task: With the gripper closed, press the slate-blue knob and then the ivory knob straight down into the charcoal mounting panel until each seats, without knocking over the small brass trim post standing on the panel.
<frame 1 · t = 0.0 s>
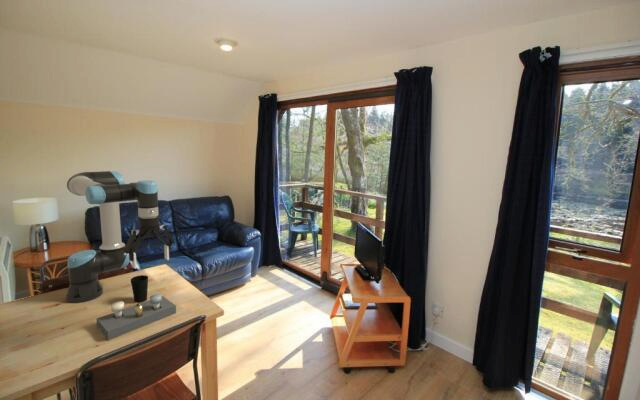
hand: (151, 263, 133), 28 cm above the table, fingers open, 13 cm apart
knob b: (156, 302, 141), point 6 cm above the table, slide at 0.0 cm
panel: (138, 319, 138), on the table
trim post: (139, 315, 134), point 4 cm above the table, touching panel
cup: (140, 300, 155), on the table
knob a: (118, 310, 133), point 6 cm above the table, slide at 0.0 cm
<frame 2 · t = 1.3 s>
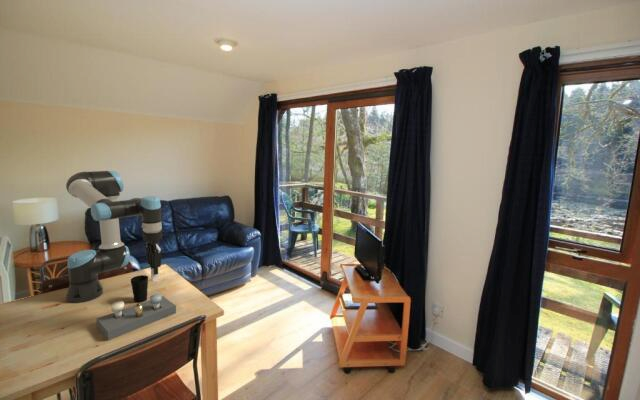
hand: (155, 280, 139), 18 cm above the table, fingers closed
nothing on the table moved.
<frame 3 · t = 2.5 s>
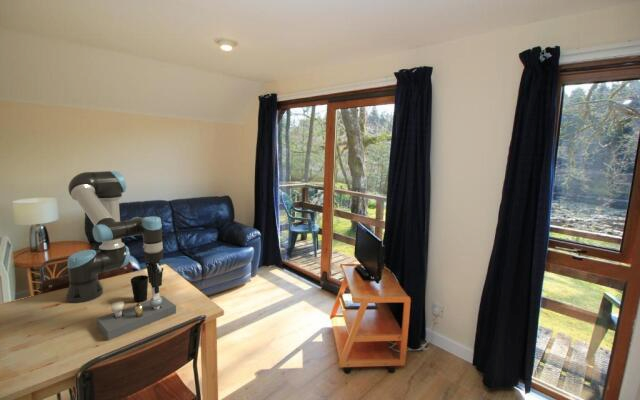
hand: (156, 298, 140), 9 cm above the table, fingers closed
knob b: (156, 305, 141), point 5 cm above the table, slide at 1.3 cm, touching gripper
everything else where it was.
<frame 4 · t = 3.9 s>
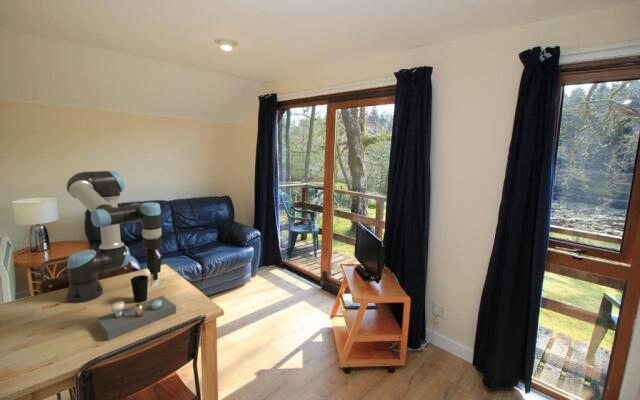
hand: (154, 285, 139), 15 cm above the table, fingers closed
knob b: (156, 308, 141), point 4 cm above the table, slide at 2.9 cm
everything else where it was.
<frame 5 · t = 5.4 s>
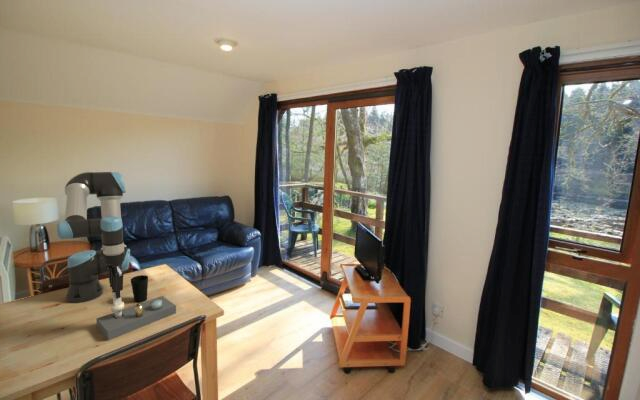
hand: (117, 303, 132), 10 cm above the table, fingers closed
knob a: (118, 311, 133), point 6 cm above the table, slide at 0.1 cm, touching gripper
everything else where it was.
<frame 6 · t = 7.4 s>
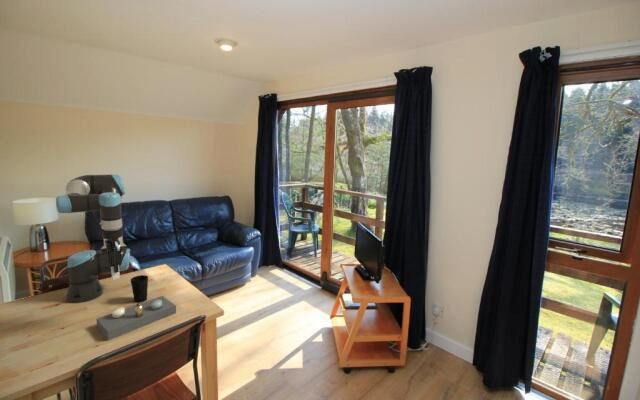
hand: (115, 278, 135), 20 cm above the table, fingers closed
knob a: (118, 316, 133), point 4 cm above the table, slide at 2.9 cm
everything else where it was.
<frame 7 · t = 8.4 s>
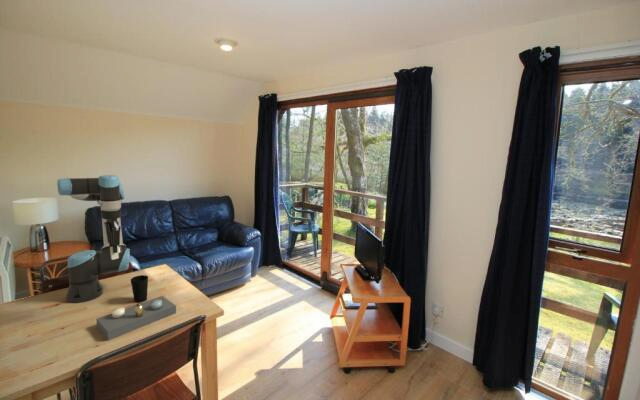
hand: (114, 258, 140), 26 cm above the table, fingers closed
nothing on the table moved.
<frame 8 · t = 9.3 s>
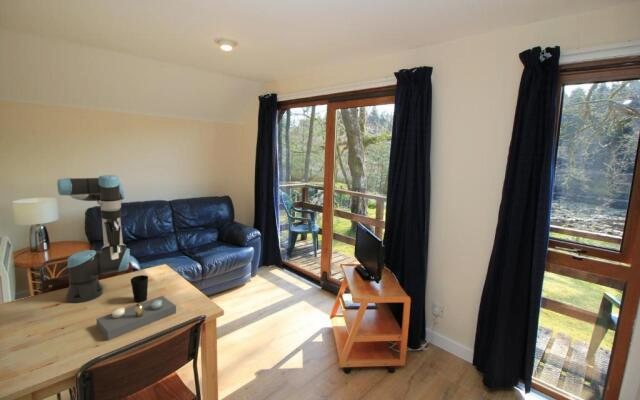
hand: (114, 258, 140), 26 cm above the table, fingers closed
nothing on the table moved.
at the end: knob b slide at 2.9 cm; knob a slide at 2.9 cm; trim post tilted 0° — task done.
